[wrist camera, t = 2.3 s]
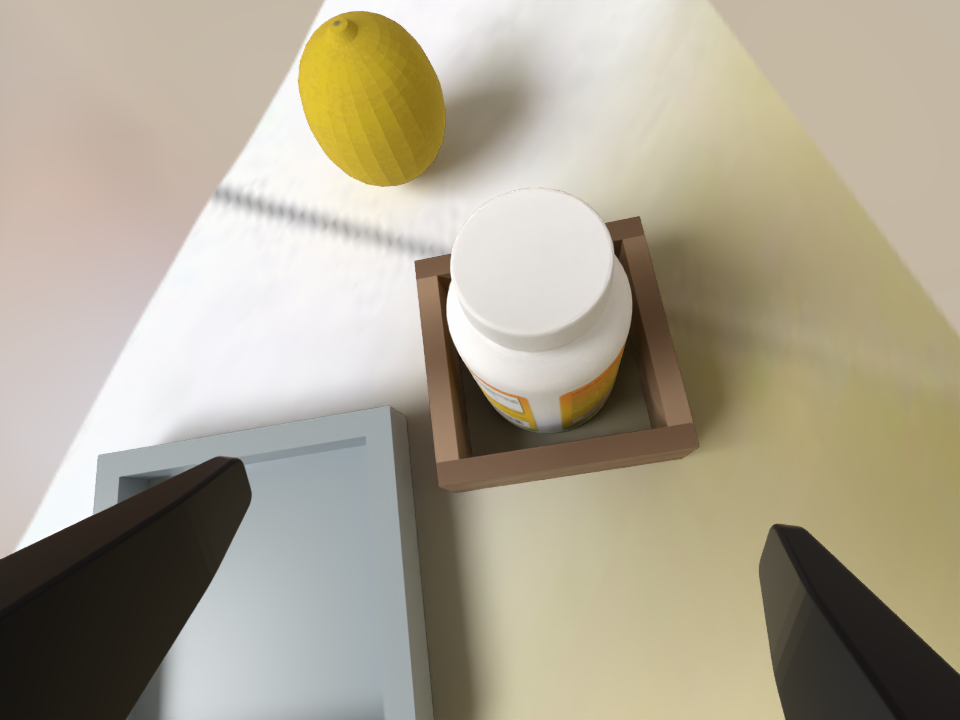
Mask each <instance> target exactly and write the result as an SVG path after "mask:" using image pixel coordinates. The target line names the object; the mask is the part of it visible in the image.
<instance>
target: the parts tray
mask: <svg viewBox="0 0 960 720" xmlns="http://www.w3.org/2000/svg"><path fill="white" fill-rule="evenodd" d="M216 456H230V457H237V458H240V459H241V460H242V461H243V463H244V466H245V469H246V473H247V476H248V480H249V483H250V487H251V491H252V499H251V503H250V506H249V508H248V510H247V512H246V514H245V516H244V518H243V520H242V522H241V524H240V526H239V528H238V530H237V532H236V534H235V536H234V539H233V541H232V543H231V545H230V547H229V549H228V551H227V553H226V555H225V557H224V559H223V561H222V563H221V565H220V567H219V569H218V571H217V573H216V574H215V576H214V578H213V580H212V582H211V583H210V585H209V587H208V589H207V590H206V592H205V594H204V595H203V597H202V598H201V600H200V602H199V603H198V605H197V607H196V608H195V610H194V611H193V613H192V615H191V616H190V618H189V619H188V621H187V623H186V624H185V626H184V628H183V629H182V631H181V632H180V634H179V636H178V637H177V639H176V640H175V642H174V644H173V645H172V647H171V648H170V650H169V652H168V653H167V655H166V657H165V658H164V660H163V661H162V663H161V665H160V666H159V668H158V669H157V671H156V673H155V674H154V676H153V678H152V679H151V681H150V682H149V684H148V686H147V687H146V689H145V690H144V692H143V694H142V695H141V697H140V698H139V700H138V702H137V703H136V705H135V707H134V708H133V710H132V711H131V713H130V715H129V716H128V718H127V719H126V720H434V715H433V704H432V693H431V682H430V671H429V660H428V650H427V639H426V628H425V617H424V606H423V595H422V584H421V573H420V562H419V552H418V541H417V530H416V519H415V508H414V497H413V486H412V475H411V465H410V454H409V443H408V432H407V421H406V417H405V416H404V415H402V414H401V413H400V412H398V411H397V410H395V409H394V408H392V407H391V406H390V405H389V406H383V407H377V408H372V409H366V410H360V411H354V412H348V413H342V414H336V415H330V416H325V417H319V418H313V419H307V420H301V421H295V422H289V423H284V424H278V425H272V426H266V427H260V428H254V429H248V430H243V431H237V432H231V433H225V434H219V435H213V436H207V437H201V438H196V439H190V440H184V441H178V442H172V443H166V444H160V445H155V446H149V447H143V448H137V449H131V450H125V451H119V452H113V453H108V454H102V455H98V462H97V474H96V485H95V497H94V509H93V515H94V514H97V513H99V512H101V511H103V510H105V509H107V508H109V507H111V506H113V505H115V504H118V503H120V502H122V501H124V500H126V499H128V498H130V497H132V496H134V495H136V494H138V493H141V492H143V491H145V490H147V489H149V488H151V487H153V486H155V485H157V484H159V483H161V482H164V481H166V480H168V479H170V478H172V477H174V476H176V475H178V474H180V473H182V472H184V471H187V470H189V469H191V468H193V467H195V466H197V465H199V464H201V463H203V462H205V461H208V460H210V459H212V458H214V457H216Z"/></svg>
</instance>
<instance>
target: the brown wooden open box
mask: <svg viewBox="0 0 960 720" xmlns="http://www.w3.org/2000/svg"><path fill="white" fill-rule="evenodd" d="M605 225H606V227H607V229H608V231H609V233H610V236H611V239H612V242H613V247H614V254H615V255H616V257H617V258H618V260H619V262H620V263H621V265H622V267H623V269H624V271H625V273H626V275H627V278H628V281H629V285H630V289H631V294H632V316H631V323H630V329H629V332H630V336H631V341H632V345H633V349H634V353H635V358H636V362H637V366H638V371H639V375H640V379H641V383H642V388H643V392H644V396H645V401H646V405H647V409H648V413H649V418H650V422H651V426H652V429H648V430H642V431H636V432H629V433H623V434H617V435H610V436H604V437H598V438H591V439H585V440H579V441H572V442H566V443H559V444H553V445H547V446H540V447H534V448H528V449H521V450H515V451H509V452H502V453H496V454H490V455H483V456H477V457H472V453H471V445H470V437H469V429H468V422H467V414H466V406H465V398H464V390H463V382H462V374H461V367H460V359H459V353H458V351H457V348H456V346H455V344H454V342H453V340H452V337H451V334H450V331H449V326H448V321H447V296H448V291H449V287H450V283H451V280H452V279H451V272H450V261H451V254H447V255H442V256H437V257H432V258H427V259H422V260H417V261H415V271H416V280H417V289H418V299H419V308H420V318H421V327H422V336H423V346H424V355H425V364H426V374H427V383H428V393H429V402H430V411H431V421H432V430H433V440H434V449H435V458H436V468H437V477H438V487H441V488H444V489H447V490H450V491H453V492H455V493H457V492H464V491H470V490H477V489H484V488H490V487H497V486H504V485H510V484H517V483H523V482H530V481H537V480H543V479H550V478H557V477H563V476H570V475H577V474H583V473H590V472H596V471H603V470H610V469H616V468H623V467H630V466H636V465H643V464H649V463H656V462H663V461H669V460H676V459H682V458H683V457H685V456H686V455H688V454H689V453H691V452H692V451H694V450H695V449H697V448H698V447H699V444H698V440H697V436H696V432H695V428H694V424H693V421H692V417H691V413H690V409H689V405H688V401H687V397H686V393H685V390H684V386H683V382H682V378H681V374H680V370H679V366H678V362H677V359H676V355H675V351H674V347H673V343H672V339H671V335H670V332H669V328H668V324H667V320H666V316H665V312H664V308H663V304H662V301H661V297H660V293H659V289H658V285H657V281H656V277H655V274H654V270H653V266H652V262H651V258H650V254H649V250H648V246H647V243H646V239H645V235H644V231H643V227H642V223H641V219H640V216H638V217H633V218H628V219H623V220H618V221H613V222H608V223H605Z"/></svg>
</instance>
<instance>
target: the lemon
mask: <svg viewBox="0 0 960 720" xmlns="http://www.w3.org/2000/svg"><path fill="white" fill-rule="evenodd" d="M298 84H299V92H300V97H301V101H302V105H303V109H304V113H305V116H306V119H307V122H308V124H309V126H310V129H311V131H312V133H313V134H314V136H315V138H316V140H317V141H318V143H319V144H320V146H321V148H322V149H323V151H324V152H325V154H326V155H327V156H328V157H329V158H330V160H332V161H333V162H334V163H335V164H336V165H337V166H338V167H339V168H340V169H342V170H343V171H344V172H345V173H346V174H348V175H349V176H351V177H353V178H355V179H357V180H359V181H361V182H364V183H366V184H370V185H375V186H382V187H384V186H397V185H400V184H404V183H407V182H409V181H411V180H413V179H415V178H417V177H418V176H419V175H421V174H422V173H423V172H424V171H425V170H426V169H427V168H428V167H429V166H430V165H431V163H432V162H433V161H434V159H435V158H436V156H437V154H438V152H439V149H440V147H441V145H442V142H443V138H444V131H445V123H446V112H445V105H444V100H443V94H442V89H441V85H440V82H439V80H438V77H437V75H436V73H435V71H434V69H433V67H432V65H431V63H430V61H429V60H428V58H427V56H426V54H425V52H424V51H423V49H422V48H421V46H420V45H419V44H418V42H417V41H416V40H415V39H414V38H413V37H412V36H411V35H410V34H409V33H408V32H407V31H406V30H405V29H404V28H403V27H402V26H401V25H399V24H398V23H396V22H395V21H393V20H391V19H389V18H387V17H385V16H383V15H380V14H376V13H371V12H364V11H354V12H348V13H343V14H340V15H338V16H335V17H333V18H331V19H330V20H328V21H326V22H325V23H323V24H322V25H321V26H320V27H319V28H318V29H317V30H316V31H315V32H314V34H313V35H312V37H311V38H310V40H309V41H308V43H307V44H306V46H305V49H304V52H303V55H302V57H301V60H300V66H299V77H298Z"/></svg>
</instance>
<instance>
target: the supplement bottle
mask: <svg viewBox="0 0 960 720" xmlns="http://www.w3.org/2000/svg"><path fill="white" fill-rule="evenodd" d="M450 272H451V279H452V280H451V283H450V287H449V291H448V296H447V321H448V326H449V331H450V334H451V337H452V340H453V342H454V344H455V346H456V348H457V351H458V353H459V355H460V356H461V358H462V360H463V361H464V363H465V364H466V366H467V367H468V369H469V371H470V372H471V374H472V375H473V377H474V379H475V380H476V382H477V383H478V385H479V387H480V388H481V390H482V391H483V393H484V395H485V396H486V398H487V399H488V401H489V402H490V404H491V405H492V406H493V407H494V409H495V410H496V411H497V412H498V413H499V414H500V415H501V416H502V417H504V418H505V419H506V420H507V421H509V422H510V423H512V424H514V425H516V426H518V427H520V428H522V429H525V430H528V431H532V432H537V433H558V432H563V431H567V430H570V429H573V428H575V427H577V426H579V425H581V424H583V423H585V422H586V421H588V420H589V419H590V418H592V417H593V416H594V415H595V414H596V413H597V412H598V411H599V410H600V409H601V408H602V407H603V405H604V404H605V402H606V401H607V399H608V397H609V395H610V393H611V391H612V389H613V386H614V383H615V379H616V376H617V372H618V368H619V365H620V361H621V358H622V354H623V351H624V347H625V343H626V340H627V336H628V333H629V329H630V323H631V316H632V294H631V289H630V285H629V281H628V278H627V275H626V273H625V271H624V269H623V267H622V265H621V263H620V262H619V260H618V258H617V257H616V255H615V254H614V247H613V242H612V239H611V236H610V233H609V231H608V229H607V227H606V225H605V223H604V221H603V220H602V219H601V217H600V216H599V215H598V214H597V213H596V212H595V211H594V210H593V209H592V208H591V207H590V206H589V205H588V204H586V203H585V202H583V201H582V200H581V199H579V198H577V197H575V196H573V195H571V194H568V193H566V192H563V191H559V190H554V189H548V188H525V189H519V190H514V191H511V192H507V193H505V194H502V195H500V196H498V197H496V198H494V199H492V200H490V201H488V202H487V203H485V204H484V205H482V206H481V207H480V208H479V209H478V210H476V211H475V212H474V213H473V214H472V215H471V216H470V218H469V219H468V220H467V221H466V222H465V224H464V225H463V226H462V228H461V230H460V232H459V233H458V235H457V237H456V240H455V243H454V246H453V249H452V254H451V261H450Z"/></svg>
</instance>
